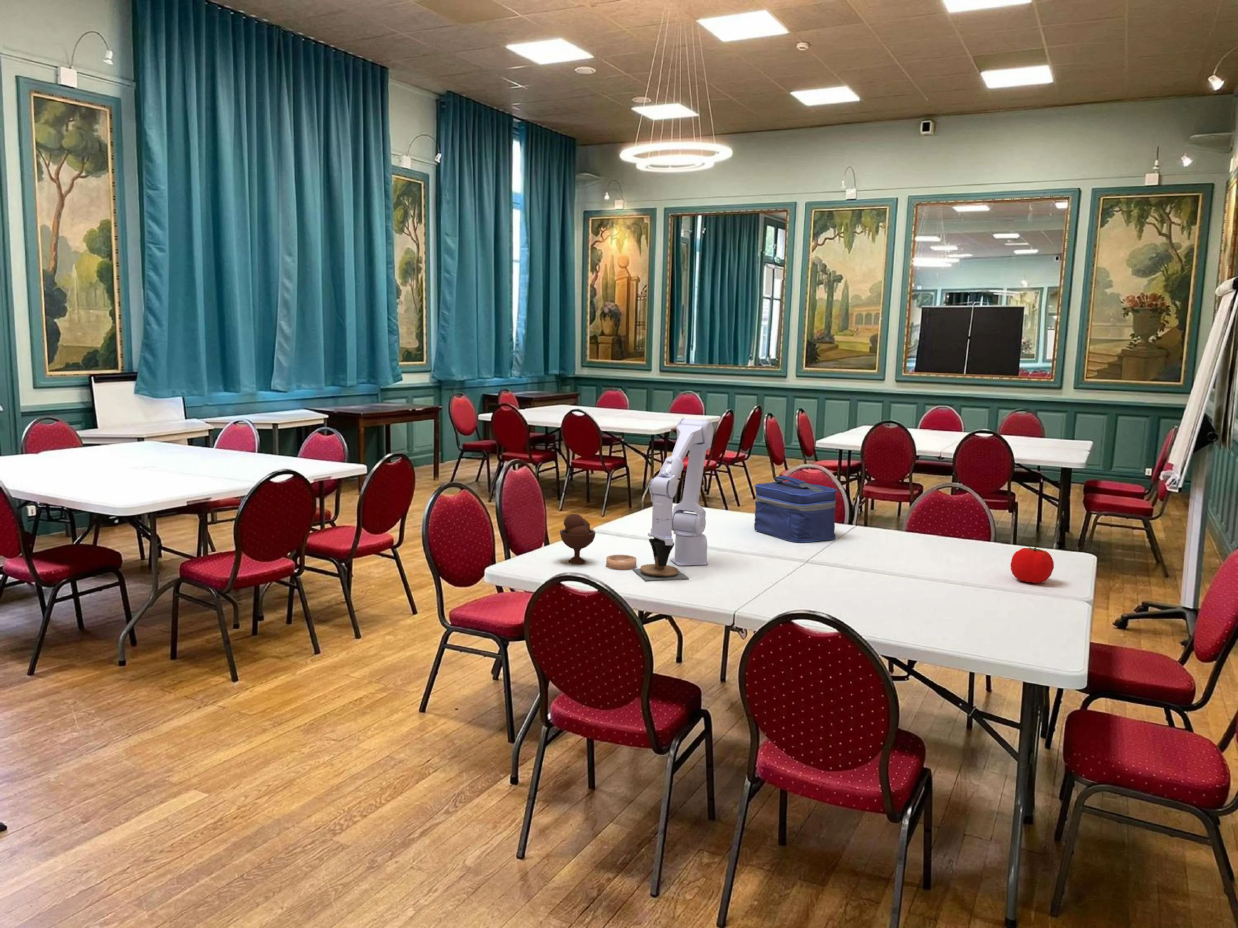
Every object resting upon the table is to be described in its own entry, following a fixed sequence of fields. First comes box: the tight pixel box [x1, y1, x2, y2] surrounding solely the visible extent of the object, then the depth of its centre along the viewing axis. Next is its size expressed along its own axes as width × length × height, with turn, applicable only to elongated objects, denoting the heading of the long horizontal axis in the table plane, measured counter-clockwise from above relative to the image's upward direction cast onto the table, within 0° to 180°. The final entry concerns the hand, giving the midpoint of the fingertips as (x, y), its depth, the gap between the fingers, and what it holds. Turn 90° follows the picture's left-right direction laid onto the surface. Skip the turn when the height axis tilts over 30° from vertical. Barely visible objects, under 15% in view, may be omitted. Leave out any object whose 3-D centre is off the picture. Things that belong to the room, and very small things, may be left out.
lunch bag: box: [753, 475, 837, 543], centre depth 327 cm, size 31×21×20 cm
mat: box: [631, 567, 690, 582], centre depth 264 cm, size 13×13×1 cm
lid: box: [640, 556, 679, 576], centre depth 264 cm, size 11×11×4 cm
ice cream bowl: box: [559, 513, 596, 566], centre depth 275 cm, size 11×11×15 cm
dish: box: [605, 554, 637, 571], centre depth 273 cm, size 9×9×2 cm
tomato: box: [1010, 545, 1055, 584], centre depth 268 cm, size 12×12×10 cm
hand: (660, 564), depth 264 cm, fingers closed on lid, 3 cm apart
